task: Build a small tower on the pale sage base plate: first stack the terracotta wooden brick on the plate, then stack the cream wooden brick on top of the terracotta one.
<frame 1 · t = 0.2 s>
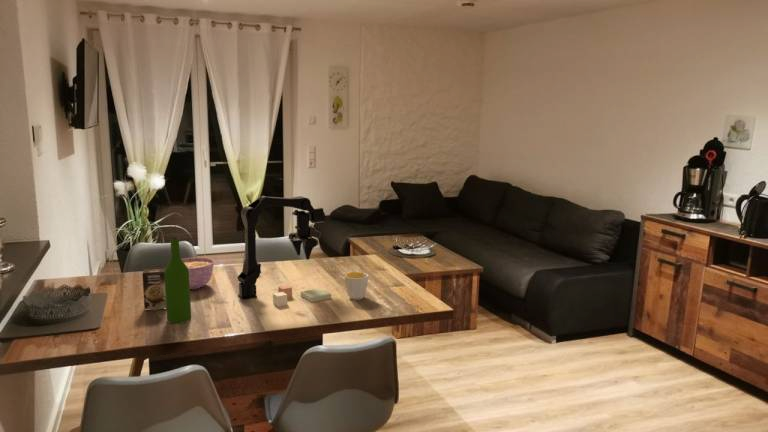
hand: (303, 257, 270), 14 cm above the table, fingers open, 9 cm apart
wine bottle: (179, 320, 230), on the table
base plate: (315, 297, 258), on the table
bowl of food: (192, 287, 272), on the table
mug: (355, 297, 259), on the table
brick terracotta: (285, 296, 259), on the table
brick cream: (280, 304, 249), on the table
coffee box: (156, 308, 243), on the table
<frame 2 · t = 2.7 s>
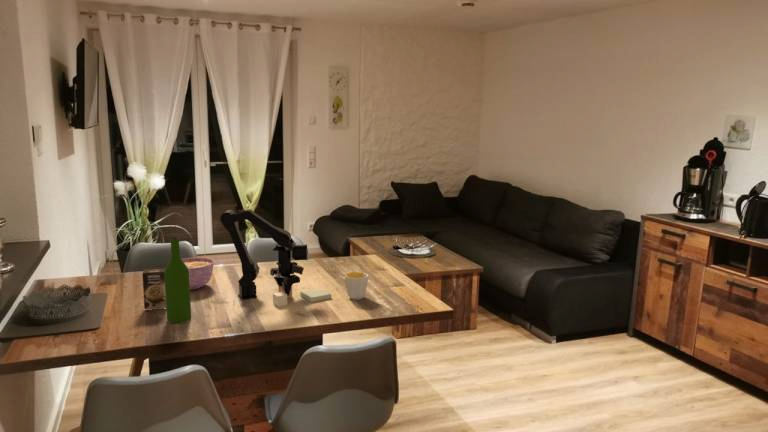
hand: (285, 294, 259), 1 cm above the table, fingers closed on brick terracotta, 4 cm apart
brick terracotta: (285, 296, 259), on the table, touching gripper
everything else where it was.
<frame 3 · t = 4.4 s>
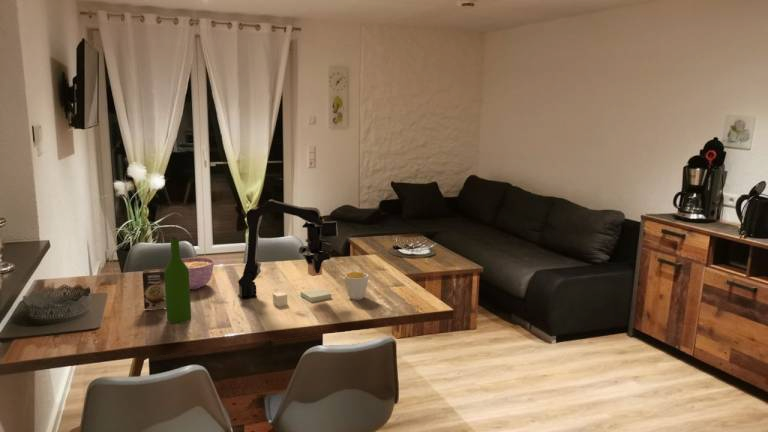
hand: (315, 271, 256), 11 cm above the table, fingers closed on brick terracotta, 4 cm apart
brick terracotta: (315, 274, 257), point 10 cm above the table, touching gripper
everything else where it was.
when the fingers open (4 cm above the table, at t = 6.0 s): brick terracotta drops 1 cm, resting on base plate.
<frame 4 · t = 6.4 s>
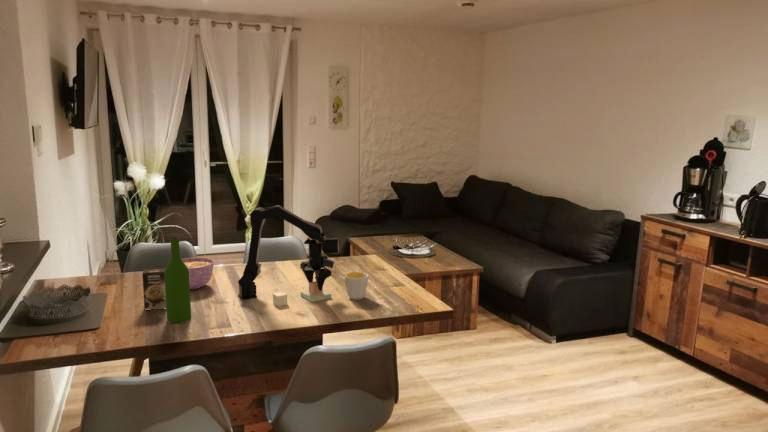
hand: (315, 287, 258), 4 cm above the table, fingers open, 8 cm apart
brick terracotta: (315, 292, 258), point 2 cm above the table, touching base plate
everything else where it was.
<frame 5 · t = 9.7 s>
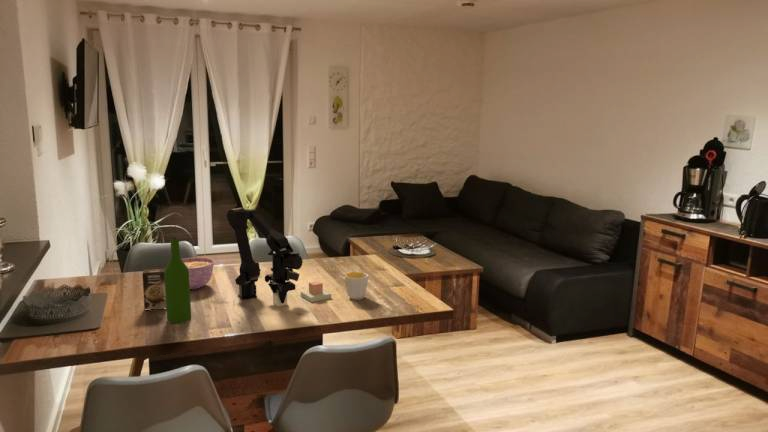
hand: (280, 301, 249), 1 cm above the table, fingers closed on brick cream, 4 cm apart
brick cream: (280, 303, 249), on the table, touching gripper
everything else where it was.
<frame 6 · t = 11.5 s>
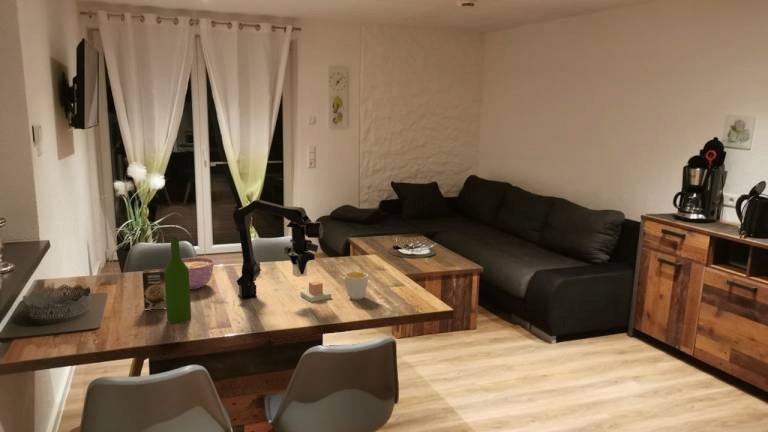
hand: (299, 272, 251), 12 cm above the table, fingers closed on brick cream, 4 cm apart
brick cream: (299, 275, 252), point 11 cm above the table, touching gripper
everything else where it was.
when the fingers open (9 cm above the table, at t = 13.1 s): brick cream drops 1 cm, resting on brick terracotta.
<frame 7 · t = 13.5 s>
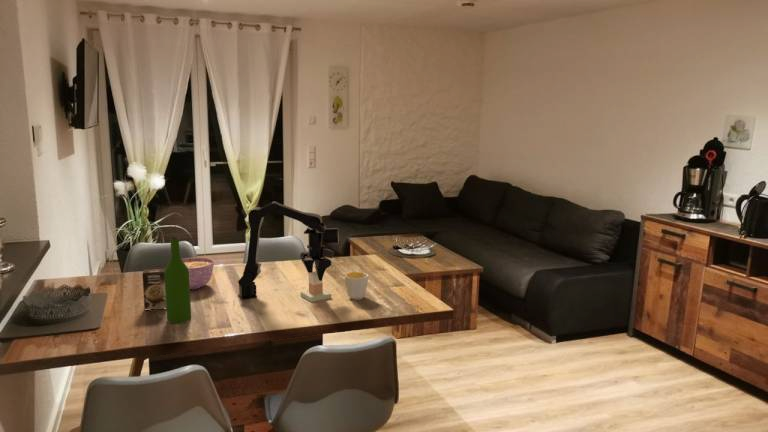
hand: (315, 278, 257), 9 cm above the table, fingers open, 9 cm apart
brick terracotta: (315, 292, 258), point 2 cm above the table, touching base plate, brick cream
brick cream: (315, 282, 257), point 6 cm above the table, touching brick terracotta
everything else where it was.
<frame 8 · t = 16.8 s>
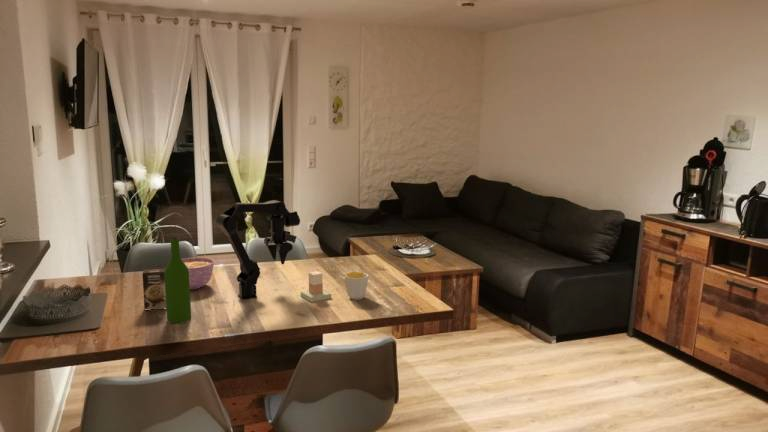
hand: (278, 261, 267), 13 cm above the table, fingers open, 9 cm apart
nothing on the table moved.
at the end: brick terracotta 0.0 cm off-centre on the base plate, point 2.0 cm above the base plate's base; brick cream 0.1 cm off-centre on the brick terracotta, point 4.5 cm above the brick terracotta's base; the gripper is holding nothing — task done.
